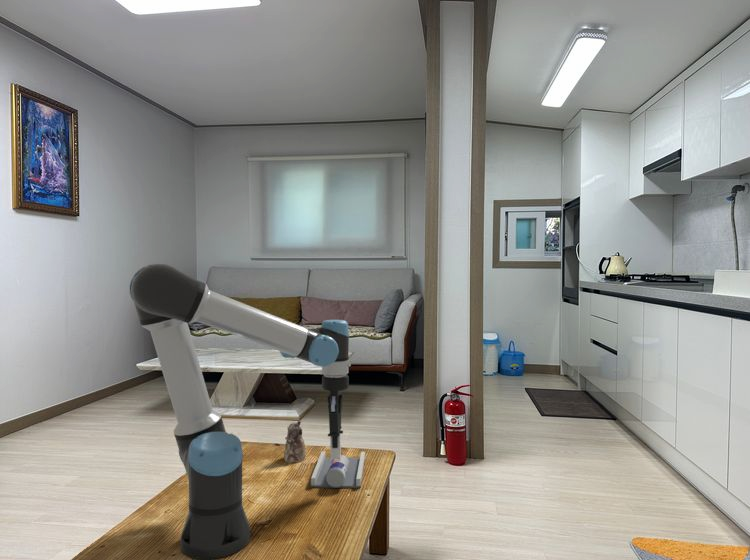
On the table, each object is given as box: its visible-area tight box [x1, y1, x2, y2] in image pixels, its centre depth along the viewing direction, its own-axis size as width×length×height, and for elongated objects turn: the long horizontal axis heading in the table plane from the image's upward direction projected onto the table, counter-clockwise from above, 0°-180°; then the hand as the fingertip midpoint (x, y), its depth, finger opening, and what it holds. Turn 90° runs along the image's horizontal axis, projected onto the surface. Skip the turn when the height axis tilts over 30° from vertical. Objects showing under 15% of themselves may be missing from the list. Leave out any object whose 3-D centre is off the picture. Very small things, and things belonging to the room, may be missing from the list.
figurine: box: [283, 420, 307, 463], centre depth 168 cm, size 7×7×12 cm
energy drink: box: [326, 454, 349, 487], centre depth 150 cm, size 5×5×12 cm
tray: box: [310, 450, 366, 489], centre depth 156 cm, size 22×14×3 cm, turn 178°
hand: (335, 457), depth 144 cm, fingers closed
